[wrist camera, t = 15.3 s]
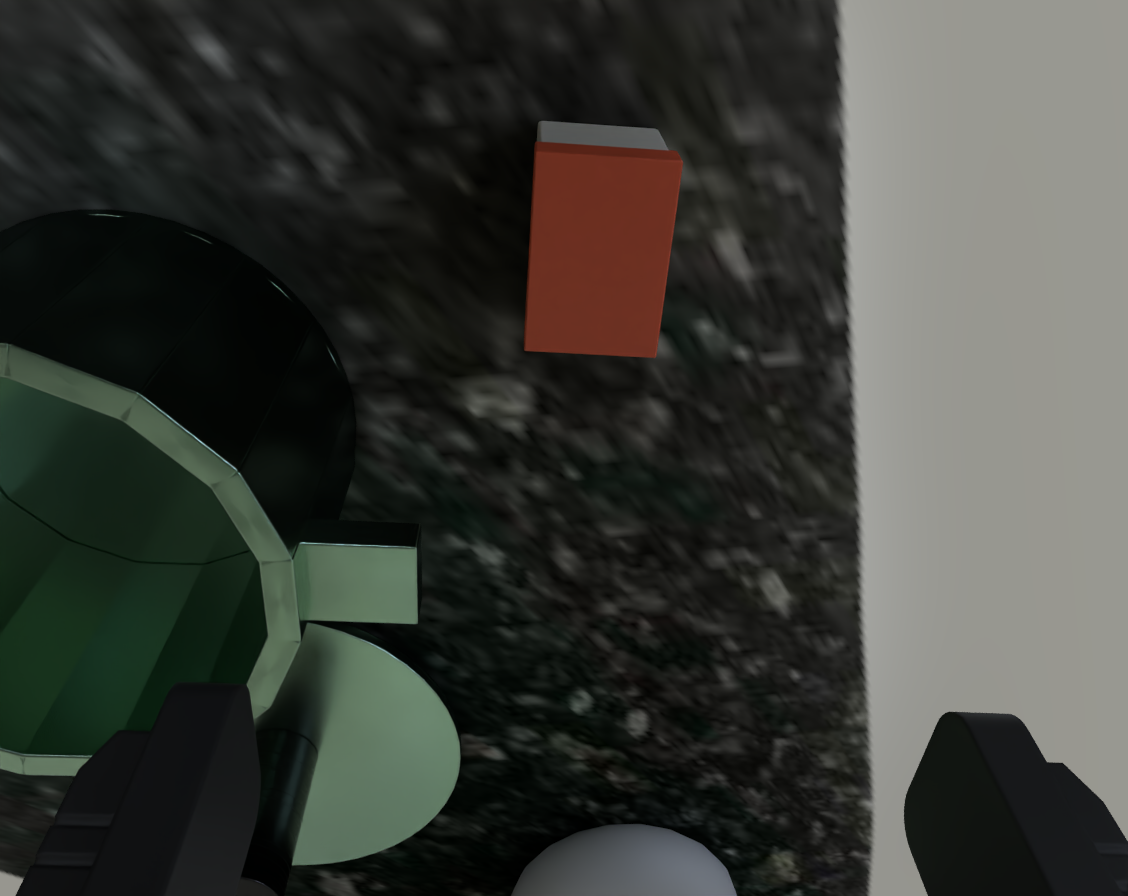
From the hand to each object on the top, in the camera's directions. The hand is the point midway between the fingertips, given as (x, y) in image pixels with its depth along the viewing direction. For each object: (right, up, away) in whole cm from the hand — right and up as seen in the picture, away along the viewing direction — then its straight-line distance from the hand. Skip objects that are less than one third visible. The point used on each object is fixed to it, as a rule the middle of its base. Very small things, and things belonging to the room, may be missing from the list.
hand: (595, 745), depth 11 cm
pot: (-13, +5, +17) cm, 22 cm away
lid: (-11, -8, +24) cm, 28 cm away
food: (0, +10, +15) cm, 18 cm away
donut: (+2, -16, +31) cm, 34 cm away
